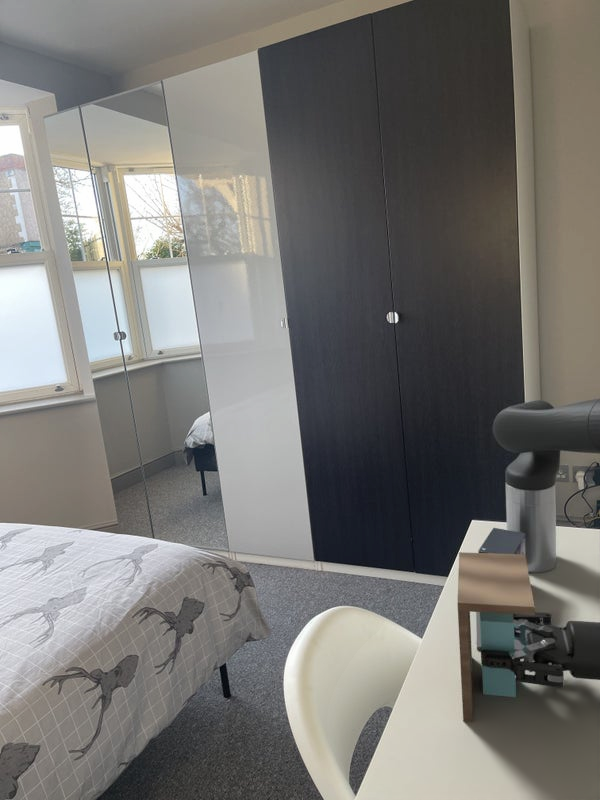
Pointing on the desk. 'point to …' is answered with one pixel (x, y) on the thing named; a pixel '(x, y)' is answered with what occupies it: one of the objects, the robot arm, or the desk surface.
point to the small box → (504, 542)
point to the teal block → (500, 638)
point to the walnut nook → (488, 601)
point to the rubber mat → (516, 642)
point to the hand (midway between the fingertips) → (481, 642)
